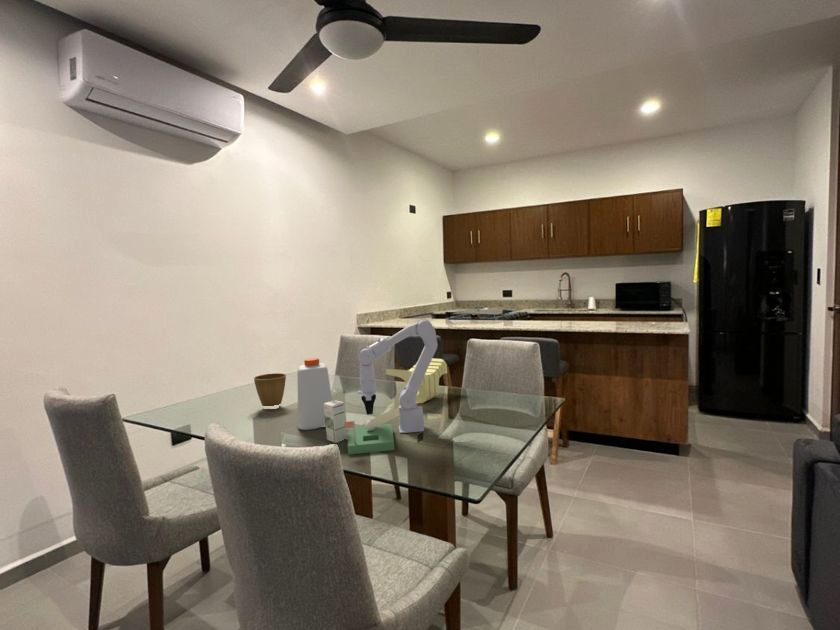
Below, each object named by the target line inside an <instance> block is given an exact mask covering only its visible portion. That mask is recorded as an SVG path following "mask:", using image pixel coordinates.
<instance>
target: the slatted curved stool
mask: <svg viewBox="0 0 840 630" xmlns="http://www.w3.org/2000/svg"><path fill="white" fill-rule="evenodd" d="M416 364H417V362H415V364H414V365H413V366H412V367H410V369H395V368H394V369H392V368H385V375H387V376H388V375H389V376H393V377H397V378H401V379H402V380H403V381H404V382H405V384H407V383H408V381H409V379H410V377H411V375H412V373H413V370H414V368H415V366H416ZM445 374H448V364H447V362H446V361H445V359H443V358H434V357H433V358H432V360H431V362H430V364H429V367H428V369H427V371H426V373H425V375H424V378H423V380H422V382H421V384H420V386H419V389H418V393H417V396H416V402H417V403H416V404H418V403H421V404H424V403H426V402H427V401H428V402H429V401H430V400H432V399H433V398H436V397H438V395H439V385H440V384H439V383H440V378H441V377H442V375H445ZM399 401H400V397H399V399H398V402H399Z"/></svg>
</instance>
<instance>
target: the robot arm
mask: <svg viewBox="0 0 840 630" xmlns="http://www.w3.org/2000/svg"><path fill="white" fill-rule="evenodd" d="M436 334H437V333H436V329H435V327H434V326H433V323H431V322H430V320H428V319H426V318H423V319H420V320H418V321H417V322H413V323H411V324H409V325H407V326H405V327H404V328H403V329H401V330H400V331H398V332H396V333H394V334H393V335H392V336H390V337H388V338H385V337H382V338H378V339H376V341H375V342H374V343H373V344H371V345H367V346H366V348H363V349H362V350H361V351H360V352H359V354H358V362H359V380H360V381H359V383H360V390H358V391H357V394H359V395H361V401H362V403H363V405H364V408H365V411H366V414H367V415H369V416H370V415H373V413H374V412H373V411H374V404H375V401H376V399H377V394H376V393H377V389H376V375H375V366H374V360H377V359H379V358H381V357H383V356H384V355H385V354H387V353H389V352H390V351H392V347H393V346H394V345H396V344H398V343H400V342H402V341H403V340H405V339H407V338H409V337H418V335H419V337H420V338H421V339H422V342H423V344H424V346H423V349H422V350H421V353H420V355H419V358H418V360H417V362H416V363H417V364H416V363H415V365H416V366H415V368H414V370H413V373H412V375H411V377H410V379H409V381H408V383H407V384H406V383H405V384H406V385H405V387H404V388H403V389H402V390H401V391H400V392H399V397H400V401H399V400H398V402H399V404H400V405H399V406H398V413H399V416H398V418H399V425H398V431H399V433H400V434H407V433H408V434H409V433H417V432H424V431H425V421H424V409H423V407H422V405H421V406H419V405H418V403H416V396H417V393H418V392H419V390H418V389H419V386H420V384H421V382H422V380H423V378H424V375H425V373H426V371H427V369H428V367H429V364H430V362H431V360H432V358H434V356H435V354H436V352H437V349H438V346H439V345H438V339H437V335H436Z"/></svg>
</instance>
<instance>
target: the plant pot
mask: <svg viewBox="0 0 840 630" xmlns="http://www.w3.org/2000/svg"><path fill="white" fill-rule="evenodd" d="M286 378H287V375H286V373H279V372H278V373H273V372H272V373H266V374H260V375H257V376H254V377H253V380H254V385H255V389H256V390H255V391H256V392H257V393H256V394H257V395H258V398H259V400H260V401H259V402H260V404H261V405H262V407H263V406H274V405H279V404H282V402H283V398H284V394H285V386H286Z"/></svg>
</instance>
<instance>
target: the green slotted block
mask: <svg viewBox="0 0 840 630" xmlns="http://www.w3.org/2000/svg"><path fill="white" fill-rule="evenodd" d="M344 426H345V428H346V429H349V431H348V438H347V440H348V441H347V454H348V456H349V455H356V454H357V455H358V454H366V453H367V454H368V453H377V452H388V451H395V450H396V449H395V440H394V433H393V427H392V423H385V424H384V423H383V424H376V427H375V429H374V430H372V431H368V430H367V429H366V428H365V425H363V426H356V424H355V420H350V421H349V420H348V421H345V422H344Z"/></svg>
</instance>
